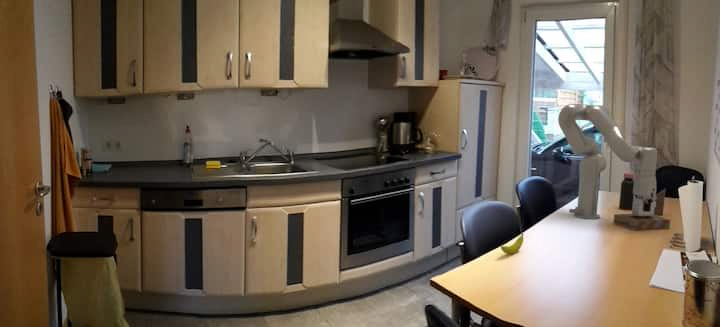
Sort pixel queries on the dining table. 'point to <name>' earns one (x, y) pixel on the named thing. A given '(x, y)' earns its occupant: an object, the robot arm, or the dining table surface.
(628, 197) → the bottle
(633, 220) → the post base
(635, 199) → the grey bar
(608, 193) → the dining table surface
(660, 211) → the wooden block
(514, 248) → the banana
